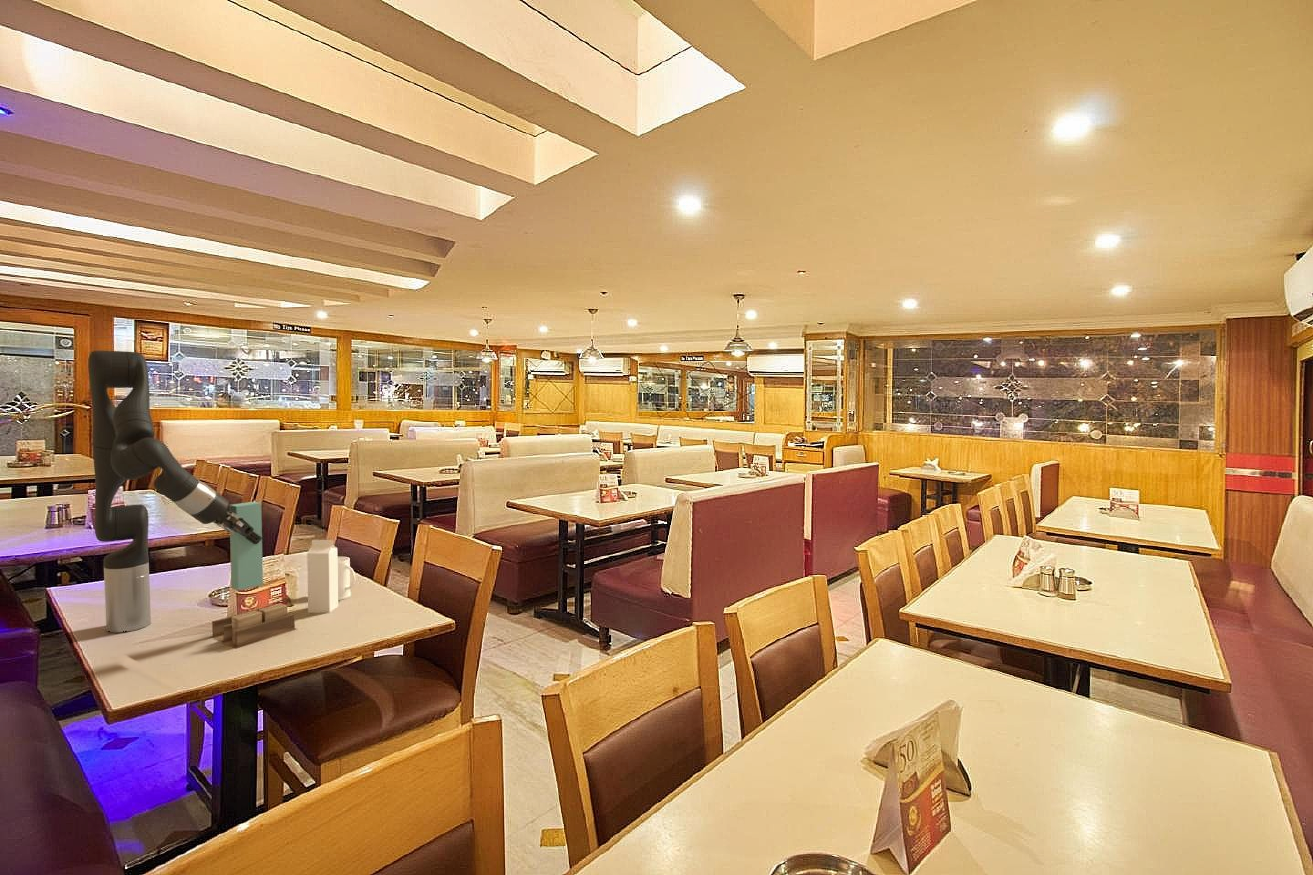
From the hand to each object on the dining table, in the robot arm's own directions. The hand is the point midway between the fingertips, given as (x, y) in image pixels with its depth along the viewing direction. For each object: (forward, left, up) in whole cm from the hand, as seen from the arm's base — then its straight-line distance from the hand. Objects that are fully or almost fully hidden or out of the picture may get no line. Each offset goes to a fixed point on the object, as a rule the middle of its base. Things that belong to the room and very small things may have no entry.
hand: (254, 540), depth 162 cm
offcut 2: (+5, +4, -24) cm, 25 cm away
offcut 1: (+8, -2, -24) cm, 25 cm away
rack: (+4, 0, -26) cm, 26 cm away
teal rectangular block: (+1, -2, -12) cm, 12 cm away
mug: (-20, +23, -26) cm, 40 cm away
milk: (-7, +17, -26) cm, 31 cm away
